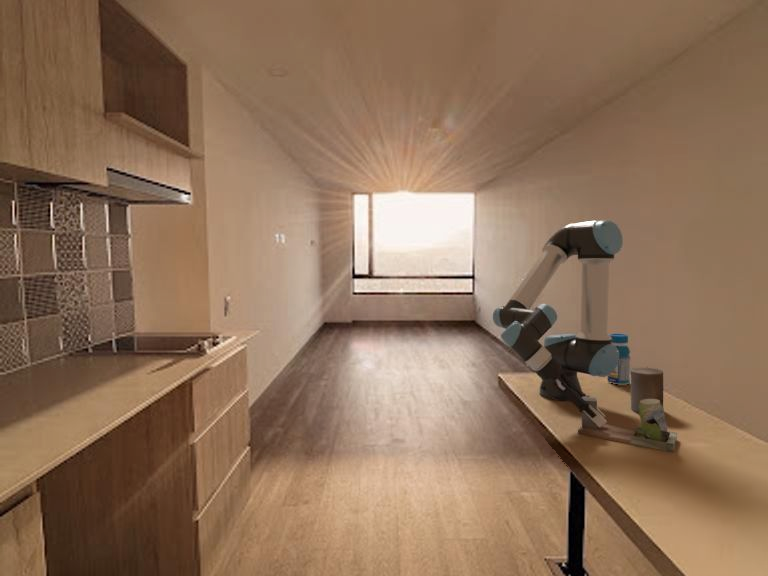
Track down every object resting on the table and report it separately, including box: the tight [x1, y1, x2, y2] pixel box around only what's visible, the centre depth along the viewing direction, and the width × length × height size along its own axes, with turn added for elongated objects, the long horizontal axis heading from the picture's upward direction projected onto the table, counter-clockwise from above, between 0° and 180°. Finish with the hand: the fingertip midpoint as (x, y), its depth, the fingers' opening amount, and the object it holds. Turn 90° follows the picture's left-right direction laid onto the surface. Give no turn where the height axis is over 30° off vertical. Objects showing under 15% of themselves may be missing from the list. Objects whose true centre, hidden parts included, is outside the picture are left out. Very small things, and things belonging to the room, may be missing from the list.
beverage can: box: [638, 399, 668, 443], centre depth 128 cm, size 6×7×12 cm
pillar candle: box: [630, 366, 664, 414], centre depth 154 cm, size 10×10×15 cm
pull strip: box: [577, 396, 678, 453], centre depth 133 cm, size 10×24×10 cm, turn 53°
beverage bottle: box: [607, 333, 631, 386], centre depth 188 cm, size 8×8×20 cm
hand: (602, 421), depth 137 cm, fingers closed on pull strip, 4 cm apart
